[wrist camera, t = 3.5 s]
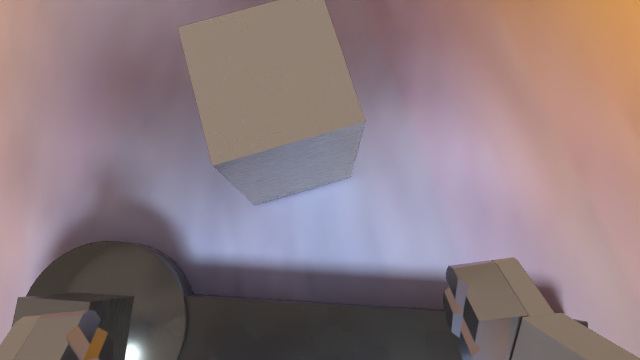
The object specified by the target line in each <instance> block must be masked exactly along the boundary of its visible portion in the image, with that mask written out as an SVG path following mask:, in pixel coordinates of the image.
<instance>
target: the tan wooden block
mask: <svg viewBox="0 0 640 360" xmlns="http://www.w3.org/2000/svg"><path fill="white" fill-rule="evenodd" d="M178 30H179V34H180V38H181V42H182V46H183V50H184V54H185V59H186V63H187V67H188V71H189V75H190V79H191V83H192V87H193V91H194V95H195V99H196V103H197V107H198V111H199V115H200V119H201V123H202V127H203V131H204V135H205V139H206V143H207V147H208V151H209V155H210V159H211V163H212V166H213V167H214V168H215V169H216V170H217V171H218V172H220V173H221V174H222V175H223V176H224V177H225V178H226V179H227V180H228V181H229V182H230V183H231V184H233V185H234V186H235V187H236V188H237V189H238V190H239V191H240V192H241V193H242V194H243V195H244V196H246V197H247V198H248V199H249V200H250V201H251V202H252V203H253V204H254V205H257V204H260V203H264V202H267V201H271V200H274V199H277V198H281V197H284V196H288V195H291V194H294V193H298V192H301V191H305V190H308V189H311V188H315V187H318V186H322V185H325V184H329V183H332V182H335V181H339V180H342V179H346V178H349V177H351V174H352V170H353V167H354V163H355V159H356V156H357V152H358V148H359V144H360V141H361V137H362V133H363V130H364V126H365V122H366V121H365V118H364V115H363V112H362V109H361V106H360V103H359V100H358V98H357V95H356V92H355V89H354V86H353V83H352V80H351V77H350V74H349V71H348V68H347V65H346V62H345V59H344V56H343V53H342V50H341V47H340V44H339V41H338V38H337V36H336V33H335V30H334V27H333V24H332V21H331V18H330V15H329V12H328V9H327V6H326V3H325V0H277V1H273V2H269V3H265V4H262V5H258V6H254V7H251V8H247V9H243V10H240V11H236V12H232V13H228V14H225V15H221V16H217V17H214V18H210V19H206V20H203V21H199V22H195V23H191V24H188V25H184V26H180V27H178Z"/></svg>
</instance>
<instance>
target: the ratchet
mask: <svg viewBox="0 0 640 360" xmlns="http://www.w3.org/2000/svg"><path fill="white" fill-rule="evenodd" d="M84 310H95V312H96V313H97V315H98V316H99V318H100V319H101V321H100V323H99V325H98V327H99V328H101V329H102V330H104V331H106V332H108V333H109V335H110V337H111V339H112V342H113V347H114V353H113V360H463V359H462V357H461V354H460V352H459V350H458V346H459V339H460V338H459V337H458V336H456V335H455V334H454V333H452V332H451V330H450V327H449V325H448V322H447V319H446V315H445V310H431V309H416V308H400V307H384V306H369V305H353V304H337V303H322V302H306V301H290V300H275V299H259V298H243V297H227V296H212V295H196V294H193V292H192V289H191V286H190V284H189V282H188V280H187V278H186V276H185V275H184V273H183V272H182V270H181V269H180V268H179V267H178V266H177V264H176V263H175V262H174V261H173V260H171V259H170V258H169V257H168V256H166V255H165V254H163V253H161V252H160V251H158V250H155V249H153V248H151V247H147V246H144V245H139V244H131V243H124V242H116V241H101V242H94V243H90V244H86V245H82V246H80V247H77V248H75V249H72V250H71V251H69V252H67V253H65V254H63V255H62V256H60V257H59V258H58V259H56V260H55V261H53V262H52V263H51V264H50V265H49V266H48V267H47V268H46V269H45V270H44V271H43V272H42V273H41V274H40V275H39V277H38V278H37V279H36V281H35V282H34V284H33V285H32V286H31V288H30V290H29V292H28V294H27V295H26V297H18V300H17V305H16V309H15V314H14V319H13V324H12V327H13V325H14V324H15V323H16V322H17V321H18V320H20V319H21V318H22V317H26V316H36V315H45V314H53V313H63V312H74V311H84ZM573 320H575V319H573ZM575 321H577V322H579V323H580V324H582V325H584V326H585V327H587V328H588V323H587V322H585V321H580V320H575Z"/></svg>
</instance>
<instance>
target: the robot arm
mask: <svg viewBox="0 0 640 360" xmlns="http://www.w3.org/2000/svg"><path fill="white" fill-rule="evenodd" d="M446 280H447V282H448V285H449V287H448V288H447V289H446V290H445V291H444V301H443V302H444V310H445V315H446V319H447V322H448V325H449V327H450V330H451V332H452V333H454V334H455V335H456V336H458V337H459V338H460V339H459V346H458V350H459V352H460V354H461V357H462V359H463V360H640V358H638V357H637V356H635V355H633V354H631V353H630V352H628V351H626V350H625V349H623V348H621V347H620V346H618V345H616V344H614V343H613V342H611V341H609V340H608V339H606V338H604V337H602V336H601V335H599V334H597V333H596V332H594V331H592V330H591V329H589V328H587V327H585V326H584V325H582V324H580V323H579V322H577V321H575V320H573V319H572V318H570V317H568V316H567V315H565V314H563V313H554V311H553V310H552V309H551V307H550V306H549V304H548V303H547V301H546V300H545V299H544V297H543V296H542V294H541V293H540V291H539V290H538V288H537V287H536V286H535V284H534V283H533V281H532V280H531V278H530V277H529V276H528V274H527V273H526V271H525V270H524V268H523V267H522V266H521V264H520V263H519V261H518V260H517V259H515V258H506V259H498V260H492V261H482V262H474V263H467V264H459V265H452V266H448V268H447V270H446ZM100 321H101V319H100V318H99V316H98V315H97V313H96V312H95V310H84V311H74V312H63V313H53V314H45V315H36V316H26V317H22V318H21V319H20V320H18V321H17V322H16V323H15V324H14V325H13V327H12V328H11V330H10V332H9V333H8V335H7V336H6V338H5V339H4V341H3V342H2V344H1V345H0V360H113V353H114V347H113V342H112V339H111V337H110V335H109V333H108V332H106V331H104V330H102V329H101V328H99V327H98V325H99V323H100Z"/></svg>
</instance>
